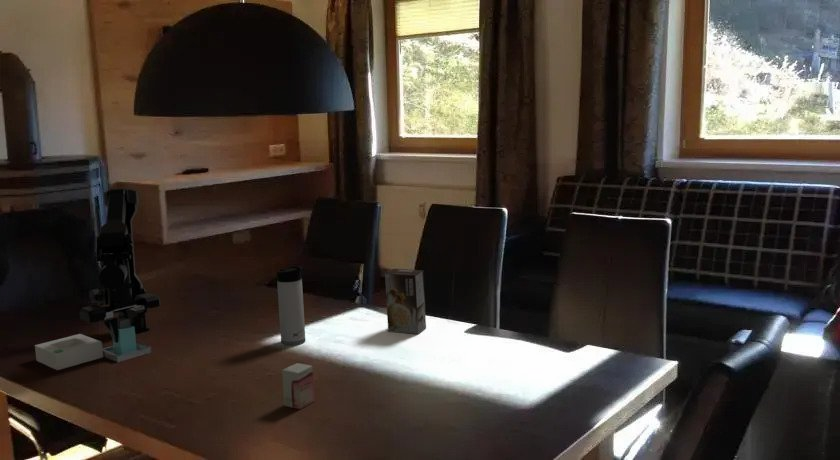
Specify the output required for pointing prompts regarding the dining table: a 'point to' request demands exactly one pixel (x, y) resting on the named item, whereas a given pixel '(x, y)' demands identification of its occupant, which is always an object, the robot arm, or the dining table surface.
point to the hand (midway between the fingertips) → (124, 340)
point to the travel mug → (291, 306)
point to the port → (68, 351)
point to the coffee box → (405, 301)
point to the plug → (125, 337)
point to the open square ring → (118, 358)
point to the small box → (298, 385)
